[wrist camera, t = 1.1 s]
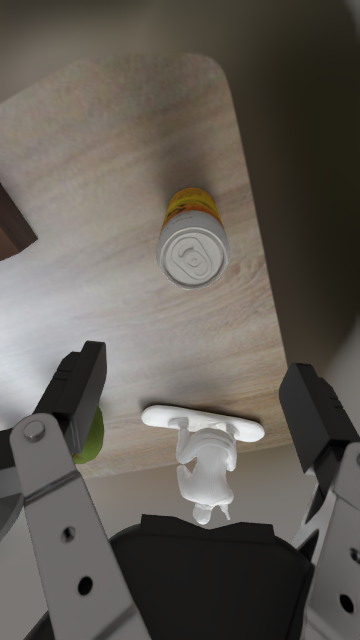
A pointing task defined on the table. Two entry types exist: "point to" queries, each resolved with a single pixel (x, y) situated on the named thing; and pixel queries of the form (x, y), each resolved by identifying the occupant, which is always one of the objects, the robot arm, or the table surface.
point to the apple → (92, 440)
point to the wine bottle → (9, 512)
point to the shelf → (12, 228)
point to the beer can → (192, 241)
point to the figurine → (204, 452)
